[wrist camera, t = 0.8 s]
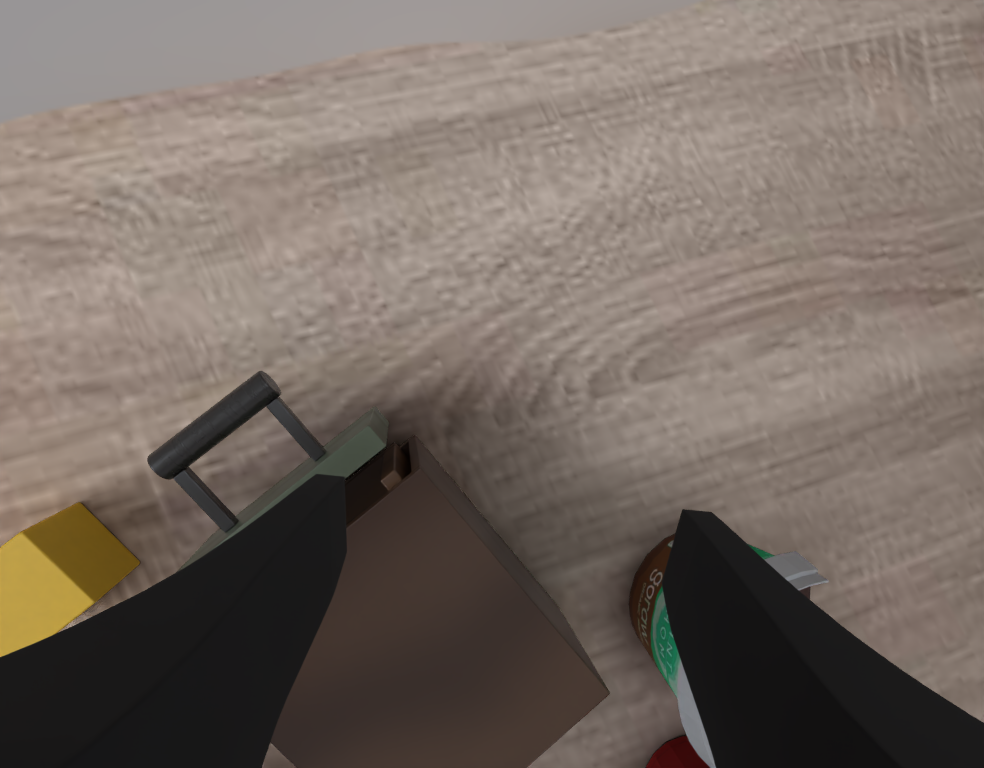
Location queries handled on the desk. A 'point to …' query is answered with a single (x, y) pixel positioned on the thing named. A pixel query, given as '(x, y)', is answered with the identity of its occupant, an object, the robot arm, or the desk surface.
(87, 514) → the block
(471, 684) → the cabinet
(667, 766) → the plastic cup
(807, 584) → the food container
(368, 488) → the drawer
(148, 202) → the desk surface
